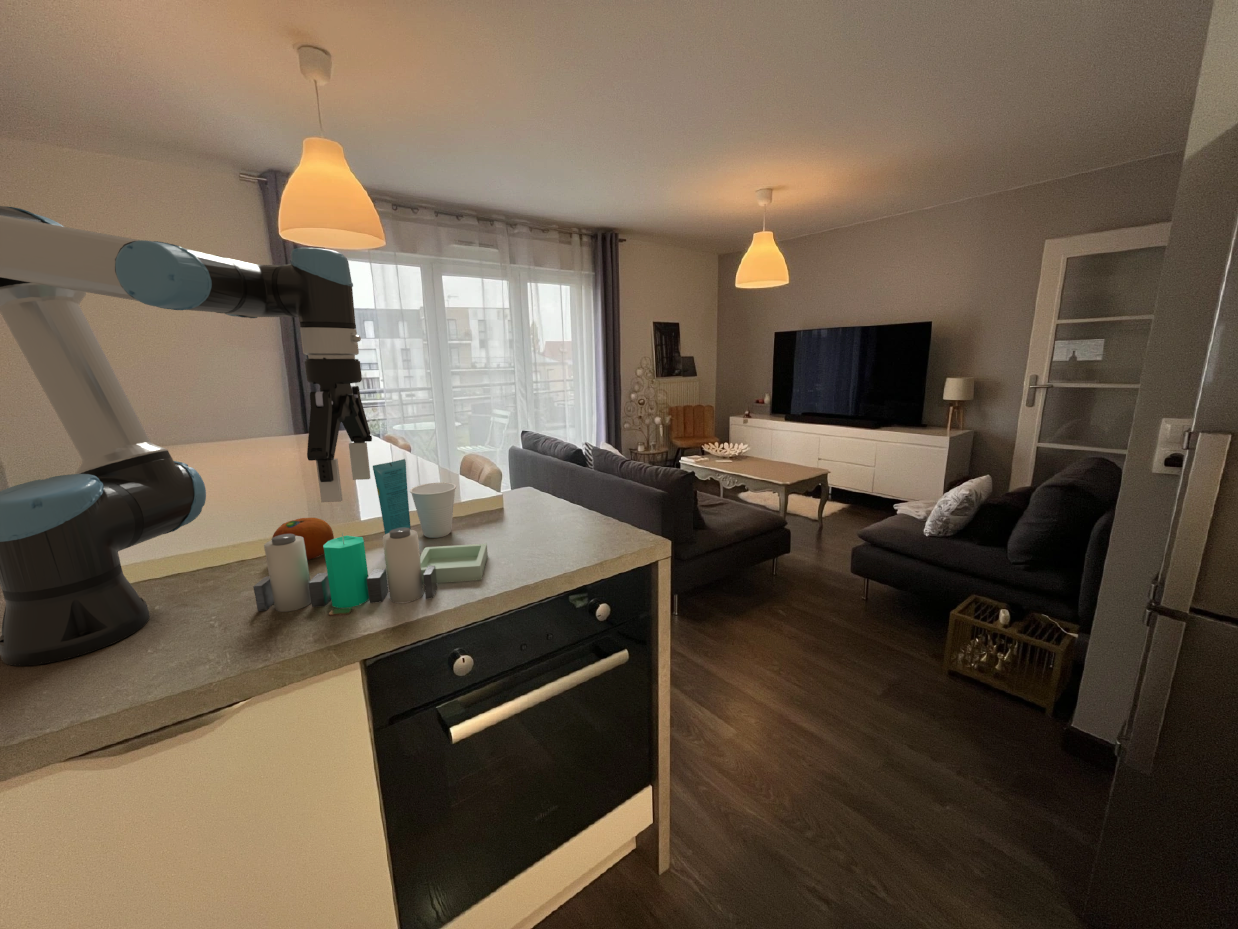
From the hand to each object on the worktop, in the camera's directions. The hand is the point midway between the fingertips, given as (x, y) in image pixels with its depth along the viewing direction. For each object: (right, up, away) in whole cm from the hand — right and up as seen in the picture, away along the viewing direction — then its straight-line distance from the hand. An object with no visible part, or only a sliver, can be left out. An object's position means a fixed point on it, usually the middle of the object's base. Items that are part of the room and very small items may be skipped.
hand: (348, 489), depth 82 cm
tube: (-2, -14, +24) cm, 28 cm away
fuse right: (+8, -18, +4) cm, 21 cm away
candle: (-1, -19, +3) cm, 19 cm away
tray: (+13, -16, +14) cm, 25 cm away
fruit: (-20, -15, +20) cm, 32 cm away
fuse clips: (-1, -19, +1) cm, 19 cm away
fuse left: (-10, -19, +2) cm, 22 cm away
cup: (+3, -12, +33) cm, 36 cm away
